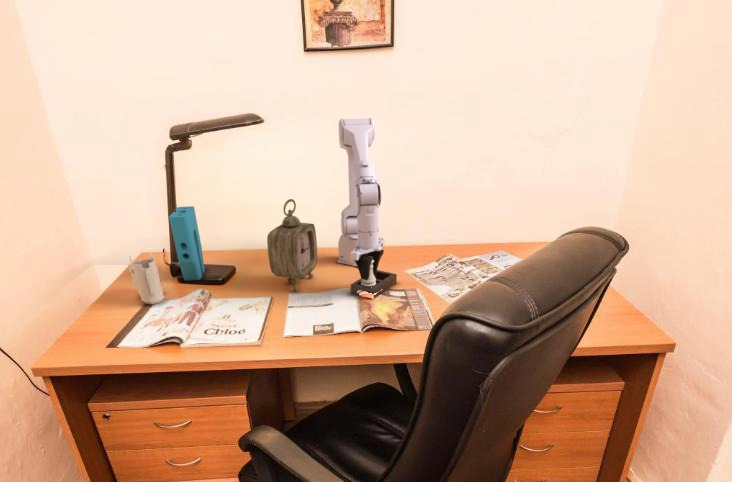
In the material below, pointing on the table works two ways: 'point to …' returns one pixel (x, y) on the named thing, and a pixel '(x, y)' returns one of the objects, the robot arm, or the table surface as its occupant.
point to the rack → (382, 282)
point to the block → (187, 242)
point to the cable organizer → (147, 280)
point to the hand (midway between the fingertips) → (368, 276)
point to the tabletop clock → (292, 248)
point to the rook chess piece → (371, 280)
